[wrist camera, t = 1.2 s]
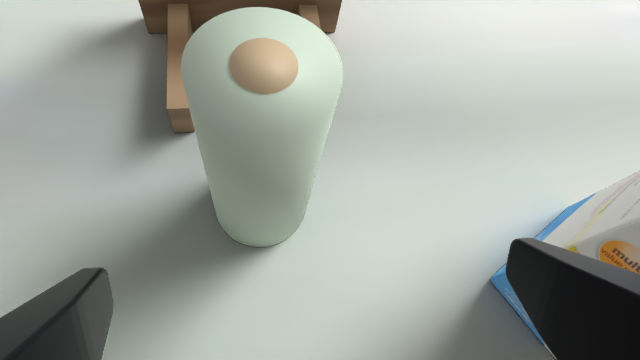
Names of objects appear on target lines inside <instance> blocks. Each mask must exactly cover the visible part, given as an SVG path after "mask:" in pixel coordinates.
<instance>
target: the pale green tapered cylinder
mask: <svg viewBox="0 0 640 360" xmlns="http://www.w3.org/2000/svg"><path fill="white" fill-rule="evenodd" d="M181 76H182V80H183V84H184V88H185V92H186V96H187V100H188V104H189V108H190V112H191V116H192V120H193V124H194V128H195V132H196V136H197V140H198V144H199V148H200V152H201V156H202V160H203V164H204V168H205V172H206V176H207V180H208V184H209V188H210V192H211V196H212V200H213V204H214V208H215V212H216V216H217V219H218V222H219V224H220V225H221V227H222V229H223V230H224V231H225V232H226V233H227V234H228V235H229V236H230V237H231V238H233V239H234V240H235V241H237V242H239V243H242V244H244V245H248V246H252V247H267V246H272V245H276V244H278V243H281V242H283V241H284V240H286V239H287V238H289V237H290V236H291V235H292V234H293V233H294V232H295V231H296V230H297V229H298V227H299V226H300V224H301V222H302V220H303V217H304V214H305V210H306V207H307V203H308V200H309V197H310V193H311V190H312V186H313V183H314V180H315V176H316V173H317V170H318V166H319V163H320V159H321V156H322V153H323V149H324V146H325V142H326V139H327V136H328V132H329V129H330V126H331V122H332V119H333V115H334V112H335V109H336V105H337V102H338V98H339V95H340V92H341V88H342V83H343V66H342V62H341V58H340V55H339V53H338V51H337V49H336V47H335V46H334V44H333V42H332V41H331V40H330V39H329V37H328V36H327V35H326V34H325V33H324V32H323V31H322V30H321V29H320V28H318V27H317V26H316V25H314V24H313V23H311V22H310V21H308V20H306V19H305V18H302V17H300V16H298V15H296V14H293V13H290V12H288V11H284V10H280V9H274V8H267V7H248V8H240V9H236V10H231V11H228V12H225V13H222V14H220V15H218V16H216V17H214V18H212V19H210V20H209V21H207V22H206V23H204V24H203V25H202V26H201V27H200V28H198V29H197V30H196V32H195V33H194V34H193V35H192V36H191V38H190V39H189V41H188V42H187V44H186V46H185V49H184V51H183V55H182V59H181Z"/></svg>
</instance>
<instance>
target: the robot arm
mask: <svg viewBox="0 0 640 360" xmlns="http://www.w3.org/2000/svg"><path fill="white" fill-rule="evenodd" d="M505 272H506V277H507V280H508V282H509V283H510V285H511V287H512V288H513V290H514V292H515V294H516V295H517V297H518V299H519V301H520V302H521V304H522V306H523V308H524V309H525V311H526V313H527V315H528V316H529V318H530V320H531V322H532V323H533V325H534V327H535V328H536V330H537V332H538V333H539V335H540V336H541V338H542V339H543V341H544V342H545V344H546V345H547V347H548V348H549V349H550V351H551V352H552V354H553V355H554V357H555V358H556V359H557V360H640V274H639V273H636V272H633V271H630V270H627V269H624V268H621V267H618V266H615V265H612V264H609V263H606V262H603V261H600V260H597V259H594V258H591V257H588V256H585V255H582V254H579V253H576V252H573V251H570V250H567V249H564V248H561V247H558V246H555V245H552V244H548V243H545V242H542V241H539V240H536V239H533V238H519V239H515V240H513V241H512V243H511V246H510V250H509V255H508V259H507V264H506V269H505ZM112 313H113V298H112V293H111V288H110V283H109V278H108V273H107V271H106V270H105V269H104V268H101V267H100V268H85V269H82V270H80V271H78V272H76V273H75V274H73V275H71V276H70V277H68V278H66V279H65V280H63V281H61V282H60V283H58V284H56V285H55V286H53V287H51V288H50V289H48V290H46V291H45V292H43V293H41V294H40V295H38V296H36V297H35V298H33V299H31V300H30V301H28V302H26V303H24V304H23V305H21V306H19V307H18V308H16V309H14V310H13V311H11V312H9V313H8V314H6V315H4V316H3V317H1V318H0V360H101V358H102V354H103V350H104V346H105V342H106V338H107V334H108V330H109V326H110V322H111V318H112Z"/></svg>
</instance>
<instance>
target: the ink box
mask: <svg viewBox="0 0 640 360" xmlns="http://www.w3.org/2000/svg"><path fill="white" fill-rule="evenodd" d="M534 239H536V240H539V241H542V242H545V243H548V244H552V245H555V246H558V247H561V248H564V249H567V250H570V251H573V252H576V253H579V254H582V255H585V256H588V257H591V258H594V259H597V260H600V261H603V262H606V263H609V264H612V265H615V266H618V267H621V268H624V269H627V270H630V271H633V272H636V273H639V274H640V171H638V172H636V173H634V174H632V175H630V176H628V177H626V178H624V179H622V180H620V181H618V182H617V183H615V184H613V185H611V186H609V187H607V188H605V189H603V190H601V191H599V192H597V193H595V194H593V195H591V196H589V197H587V198H585V199H584V200H582V201H580V202H578V203H576V204H574V205H572V206H569V207H568V208H567V209H566V210H565V211H564V212H563V213H562V214H561V215H559V216H558V217H557V218H556V219H555V220H554V221H552V222H551V223H550V224H549V225H548V226H547V227H546V228H545V229H544V230H543V231H542V232H541V233H540V234H538V235H537V236H536V237H535V238H534ZM506 264H507V263H506ZM506 264H505V265H504V266H502V267H501V268H500V269H499V270H498V271H497V272H496V273H495V274H494V275H493V276H492V277H491V282H492V283H493V284H494V285H495V287H496V288H497V289H498V290H499V291H500V293H501V294H502V295H503V296H504V298H505V299H506V300H507V301H508V302H509V304H510V305H511V306H512V307H513V308H514V309H515V311H516V312H517V313H518V314H519V315H520V317H521V318H522V319H523V320H524V322H525V323H526V324H527V325H528V326H529V327H530V329H531V330H532V331H533V332H534V334H535V335H536V336H537V337H538V338H539V340H540V341H541V342H542V343H543V345H544V346H545V347H546V348H547V349H548V351H549V352H550V353H551V354H552V352H551V351H550V349H549V348H548V347H547V345H546V344H545V342H544V341H543V339H542V338H541V336H540V335H539V333H538V332H537V330H536V328H535V327H534V325H533V323H532V322H531V320H530V318H529V316H528V315H527V313H526V311H525V309H524V308H523V306H522V304H521V302H520V301H519V299H518V297H517V295H516V294H515V292H514V290H513V288H512V287H511V285H510V283H509V282H508V280H507V277H506V272H505V269H506ZM552 355H553V354H552ZM553 357H554V355H553ZM554 358H555V357H554ZM555 359H556V358H555ZM556 360H557V359H556Z"/></svg>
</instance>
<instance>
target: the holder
mask: <svg viewBox="0 0 640 360" xmlns="http://www.w3.org/2000/svg"><path fill="white" fill-rule="evenodd" d="M341 2H342V0H139V4H140V7H141V10H142V13H143V16H144V20H145V23H146V26H147V29H148V32H149V33H168V35H167V112H168V115H169V118H170V121H171V123H172V126H173V129H174V132H195V128H194V124H193V120H192V116H191V112H190V108H189V104H188V100H187V96H186V92H185V88H184V84H183V80H182V76H181V59H182V55H183V51H184V49H185V46H186V44H187V42H188V41H189V39H190V38H191V36H192V35H193V33H195V32H196V30H197V29H198V28H200V27H201V26H202V25H203V24H204V23H206V22H207V21H209V20H210V19H212V18H214V17H216V16H218V15H220V14H222V13H225V12H228V11H231V10H236V9H240V8H248V7H267V8H274V9H280V10H284V11H288V12H290V13H293V14H296V15H298V16H300V17H302V18H305V19H306V20H308V21H310V22H311V23H313V24H314V25H316V26H317V27H318V28H320V29H321V30H322V31H323V32H335V29H336V24H337V20H338V16H339V11H340V7H341Z"/></svg>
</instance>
